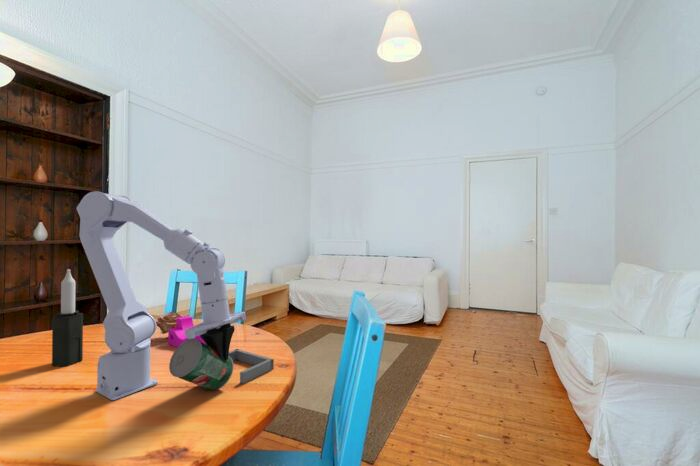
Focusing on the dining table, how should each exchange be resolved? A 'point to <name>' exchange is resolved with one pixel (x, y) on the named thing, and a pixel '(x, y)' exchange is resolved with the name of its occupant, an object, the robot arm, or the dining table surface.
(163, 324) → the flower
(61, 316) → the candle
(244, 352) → the box
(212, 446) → the dining table surface
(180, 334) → the toy block
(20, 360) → the dining table surface
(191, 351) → the canned tomato
